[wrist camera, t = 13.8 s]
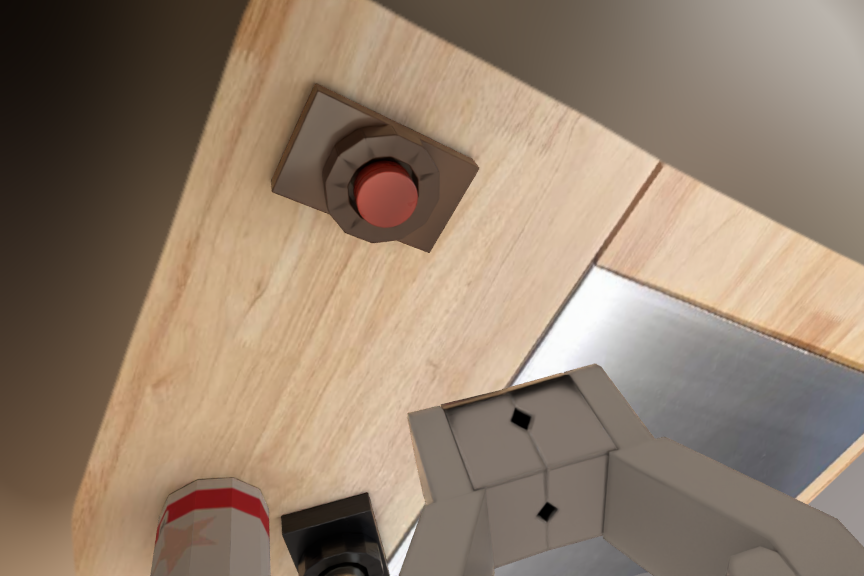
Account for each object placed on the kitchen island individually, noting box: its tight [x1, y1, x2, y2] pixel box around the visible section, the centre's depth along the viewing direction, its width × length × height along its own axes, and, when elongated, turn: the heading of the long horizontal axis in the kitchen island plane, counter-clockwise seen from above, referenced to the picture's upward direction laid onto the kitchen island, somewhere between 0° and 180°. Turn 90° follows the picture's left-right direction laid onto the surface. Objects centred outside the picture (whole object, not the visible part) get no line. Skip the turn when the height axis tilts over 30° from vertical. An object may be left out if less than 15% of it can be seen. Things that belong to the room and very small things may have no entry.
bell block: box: [271, 84, 479, 253], centre depth 34 cm, size 10×6×3 cm, turn 60°
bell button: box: [353, 161, 418, 228], centre depth 33 cm, size 3×3×2 cm
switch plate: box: [281, 493, 390, 576], centre depth 51 cm, size 7×10×4 cm
